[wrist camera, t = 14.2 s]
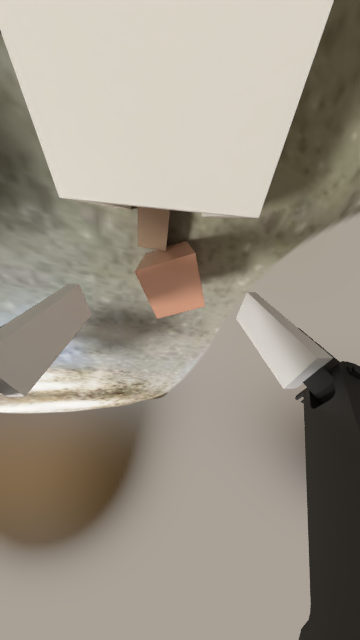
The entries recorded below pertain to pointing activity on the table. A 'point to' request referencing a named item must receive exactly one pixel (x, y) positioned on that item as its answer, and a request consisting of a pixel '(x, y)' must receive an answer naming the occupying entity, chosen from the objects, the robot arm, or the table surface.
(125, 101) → the tunnel
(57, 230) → the table surface
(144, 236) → the rod
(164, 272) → the block
